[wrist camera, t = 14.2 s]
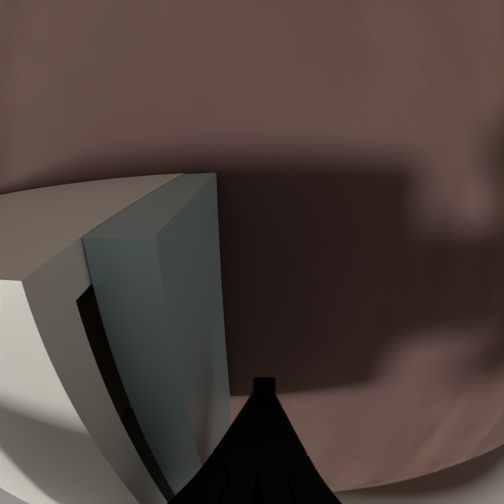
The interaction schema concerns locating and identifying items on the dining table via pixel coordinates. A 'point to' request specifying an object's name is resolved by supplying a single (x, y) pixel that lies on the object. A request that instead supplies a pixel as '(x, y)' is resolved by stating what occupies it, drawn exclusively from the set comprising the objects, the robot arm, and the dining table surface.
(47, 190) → the panel
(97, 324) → the dome button cube
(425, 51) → the dining table surface
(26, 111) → the dining table surface
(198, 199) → the tray
